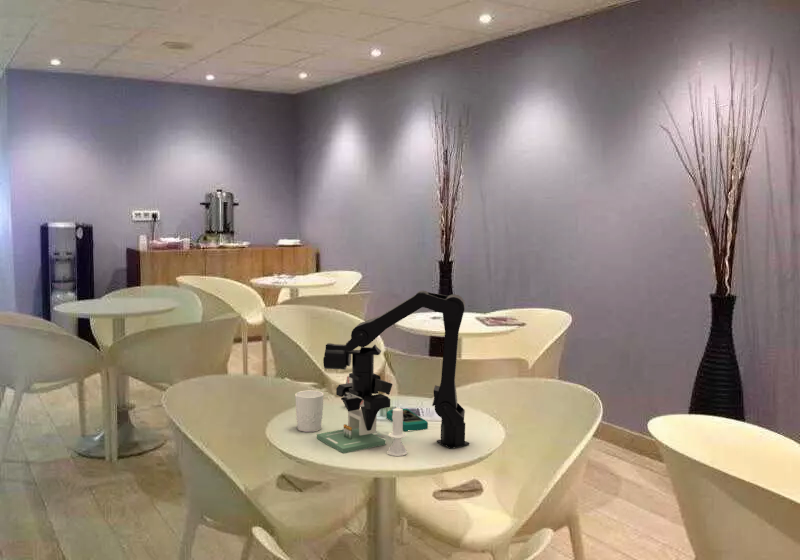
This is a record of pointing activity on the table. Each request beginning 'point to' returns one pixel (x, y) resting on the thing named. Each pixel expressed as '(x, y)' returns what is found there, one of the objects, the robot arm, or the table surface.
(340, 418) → the table surface
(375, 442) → the header board
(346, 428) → the pins
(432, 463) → the table surface
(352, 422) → the block
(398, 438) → the candle
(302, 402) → the white cup
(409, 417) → the digital multimeter
